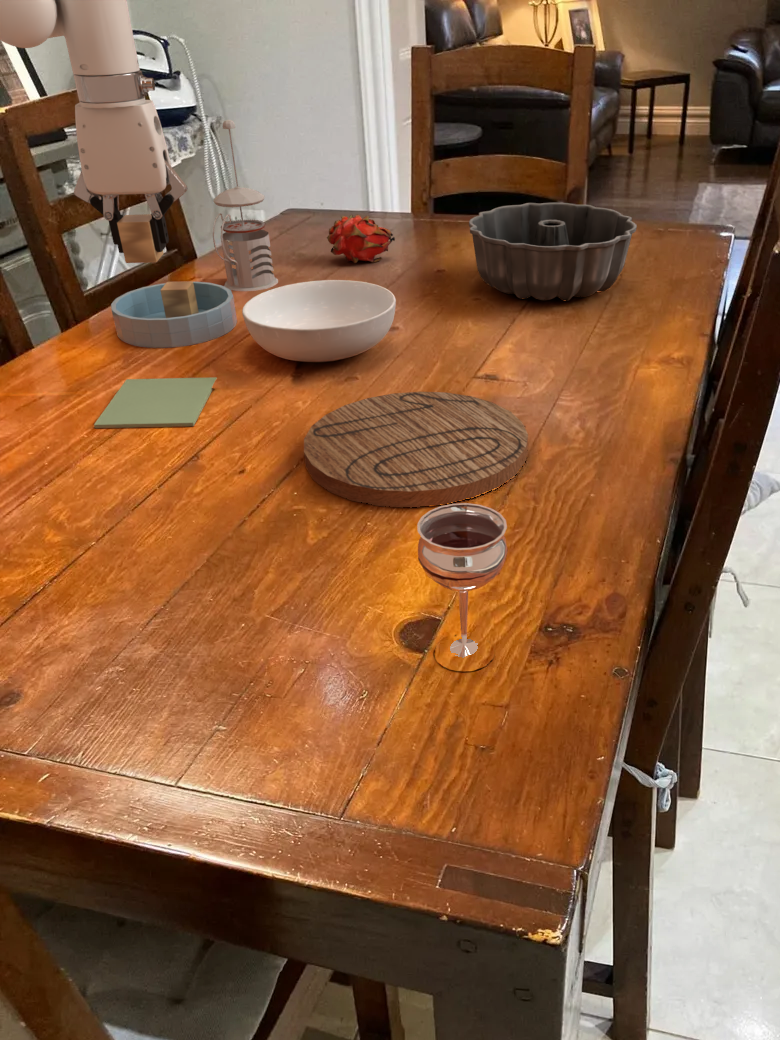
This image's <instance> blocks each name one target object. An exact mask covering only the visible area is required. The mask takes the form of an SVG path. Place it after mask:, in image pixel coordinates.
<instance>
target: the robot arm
mask: <svg viewBox="0 0 780 1040" xmlns="http://www.w3.org/2000/svg"><path fill="white" fill-rule="evenodd" d="M128 5H129V4H128V0H0V41H1V42H3V43H4V44H7V45H9V46H11V47H15V48H19V49H31V48H35V47H38V46H40V45H42V44H43V43H45V42H46V41H47V40H48V39H51V38H52V39H53V38H58V37H64V39H65V44H66V47H67V52H68V57H69V62H70V66H71V71H72V74H73V79H74V84H75V88H76V92H77V98H78V101H79V102H78V103H76V104H75V105H74V117H75V119H74V121H75V132H76V133H75V134H76V140H77V142H76V143H77V149H78V156H79V161H80V168H81V171H80V173H79V175H78V179H77V181H76V184H75V186H74V189H73V194H74V196H76V197H77V198H79V199H80V200H82V201H83V202H86V203H88V204H90V205H91V206H92V207H93V208H94V209H95V210H96V211H98V213H100V214H101V215H102V216H103V218H104V219H105V220H106V221H108V224H109V225H108V226H109V229H110V234H111V239H112V242H113V245H115V246H116V245H117V251H118V253H119V254H124V253H123V248H122V244H121V239H120V234H119V230H118V225H117V222H118V221H119V220H121V219H122V218H123V217H124V216H125V215H124V214H122V213H121V211H120V198H119V197H120V196H119V195H144V197H145V200H146V202H147V205H148V207H149V210H150V212H151V213H150V214H151V216H152V219H151V220H150V225H151V231H152V236H153V241H154V246H155V250H156V251H157V252H162V251H163V252H164V250H165V249H166V248H167V244H169V241H170V238H169V232H168V227H167V221H166V216H165V215H166V214H167V212H168V211H169V209H170V208H171V206H173V204H174V203H175V202H176V201H177V200H178V199H180V198H181V197H182V196H183V195H184V194H186V193H187V191H188V186H187V184H186V183H185V181H183V180H182V178H181V177H180V176H179V174H178V173H177V172H176V170H175V169H174V168H173V166H172V162H171V158H170V154H169V150H168V146H167V142H166V138H165V135H164V130H163V127H162V123H161V120H160V117H159V115H158V111H157V109H156V105H155V103H154V101H153V100H152V99H146V96H147V93H149V92H150V91H151V92H152V91H153V92H154V91H156V84H155V80H154V78H153V77H147V76H145V75H144V74H143V71H142V70H141V69H140V64H139V58H138V54H137V48H136V43H135V38H134V32H133V26H132V22H131V21H132V20H131V16H130V15H131V14H130V11H129V6H128ZM169 185H170V186H171V190H170V191H168V192H167V193H166V194H165V195H164V196H163V195H162V192H163V191H165V190H166V188H167V186H169Z"/></svg>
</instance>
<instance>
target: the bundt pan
mask: <svg viewBox="0 0 780 1040" xmlns="http://www.w3.org/2000/svg"><path fill="white" fill-rule="evenodd" d="M632 218H633V217H631V216H627V215H623V214H622V213H621V212H620V211H617V210H614V209H611V208H605V207H597V206H596V207H595V206H593V205H591V204H576V203H568V202H543V203H536V202H526V203H523V204H512V205H510V204H509V205H501V206H498V207H495V208H493V209H491V210H486V211H480V212H478V215H477V216H474V217H472V218H470V219H469V221H468V227H469V234H471V237H472V243H473V248H474V249H473V250H474V256H475V262H476V263H475V264H476V268H477V273H478V275H479V277H480V279H482V280H483V282H484V283H485V284H486V285H488V286H490V287H492V288H494V289H496V290H497V291H499V292H501V293H503V294H506V295H515V296H516V297H517V298H518V299H520V300H523V299H522V298H526V299H528V298H530V297H532V298H534V299H536V300H538V301H551V300H553V299H555V298H558V299H559V300H561V299H562V300H561V301H563V300H566V301H565V302H568V301H570V300H571V299H572V298H573V297H575V298H586V297H590V296H592V295H594V294H596V293H595V292H597V291H603V292H605V291H607V290H609V289H610V288H611V287H613V284H614V283H615V282H616V281H617V279H618V277H619V276H620V274H621V273H622V271H623V270H624V267H625V264H626V260H627V256H628V252H629V249H630V245H631V240H632V238H633V237H632V236H633V234H635V232H637V227H638V226H637V223H635V222H634V221H632ZM527 297H528V298H527Z"/></svg>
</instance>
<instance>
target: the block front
mask: <svg viewBox="0 0 780 1040" xmlns="http://www.w3.org/2000/svg"><path fill="white" fill-rule="evenodd" d="M123 216H124V217H123V218H122V219H121V220H119V221H118V222H117V225H118V230H119V234H120V239H121V244H122V248H123V253H122V254H123V257H124V262H125V264H145V263H147V264H148V263H149V264H151V263H157V262H158V261H159V260H160V259H161V258H162V256H163V255H164V250H163V251H162V252H157V251H156V250H155V246H154V241H153V236H152V231H151V225H150V220H151V219H152V216H151V213H149V214H147V213H146V214H144V213H143V214H125V215H123Z"/></svg>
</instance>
